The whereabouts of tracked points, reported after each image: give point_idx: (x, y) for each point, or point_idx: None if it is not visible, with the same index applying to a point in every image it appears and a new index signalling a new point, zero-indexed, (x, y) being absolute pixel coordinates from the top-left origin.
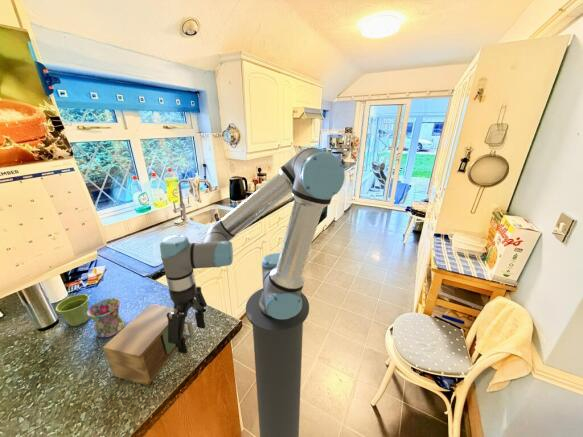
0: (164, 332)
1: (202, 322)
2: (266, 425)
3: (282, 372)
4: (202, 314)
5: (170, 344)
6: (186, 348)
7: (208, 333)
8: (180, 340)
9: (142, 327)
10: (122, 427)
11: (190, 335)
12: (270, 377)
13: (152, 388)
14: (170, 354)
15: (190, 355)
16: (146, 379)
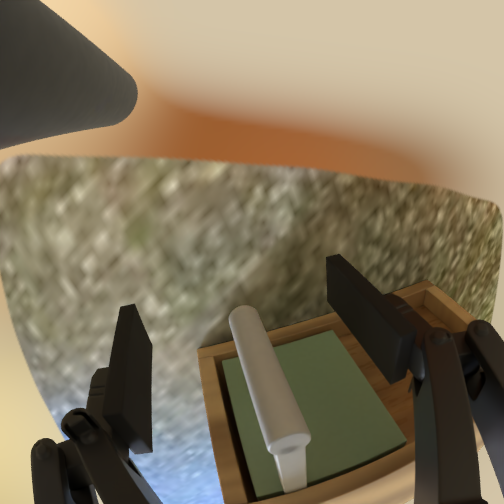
0: (397, 438)
1: (131, 346)
2: (119, 89)
3: (59, 17)
4: (112, 406)
5: (328, 363)
6: (343, 272)
7: (121, 263)
8: (436, 328)
9: (402, 493)
10: (498, 236)
11: (264, 328)
12: (76, 50)
13: (432, 259)
14: (325, 323)
15: (287, 242)
16: (448, 296)
